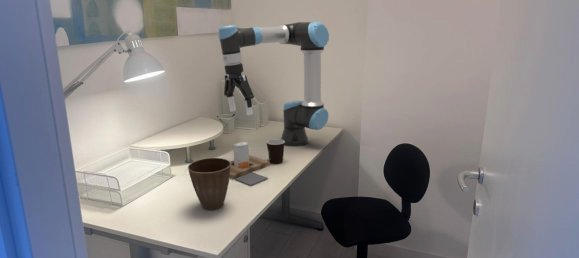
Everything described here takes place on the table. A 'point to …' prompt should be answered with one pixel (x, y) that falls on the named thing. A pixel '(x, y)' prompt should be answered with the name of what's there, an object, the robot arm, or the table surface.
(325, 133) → the table surface
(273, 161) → the coffee mug
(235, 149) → the skincare box
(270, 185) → the table surface
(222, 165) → the plant pot
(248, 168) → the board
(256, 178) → the coaster
